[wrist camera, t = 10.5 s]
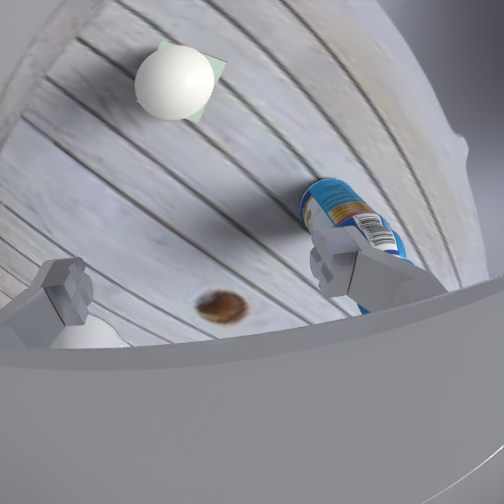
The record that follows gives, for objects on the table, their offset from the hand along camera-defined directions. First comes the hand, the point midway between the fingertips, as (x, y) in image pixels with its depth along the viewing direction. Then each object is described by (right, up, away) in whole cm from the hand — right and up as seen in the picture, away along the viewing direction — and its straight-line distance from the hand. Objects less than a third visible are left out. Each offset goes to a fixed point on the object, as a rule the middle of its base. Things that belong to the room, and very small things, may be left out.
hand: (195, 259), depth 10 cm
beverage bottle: (+12, +7, +30) cm, 33 cm away
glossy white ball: (-4, +13, +10) cm, 17 cm away
